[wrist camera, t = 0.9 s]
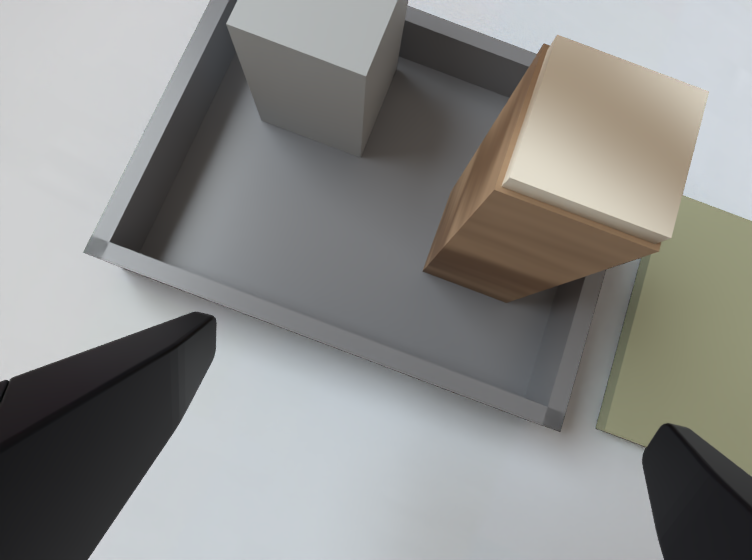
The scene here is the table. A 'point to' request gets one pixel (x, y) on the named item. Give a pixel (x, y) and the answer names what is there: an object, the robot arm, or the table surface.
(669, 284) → the olive board
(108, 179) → the table surface
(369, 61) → the grey box
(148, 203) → the tray
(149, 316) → the table surface
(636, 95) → the walnut box
